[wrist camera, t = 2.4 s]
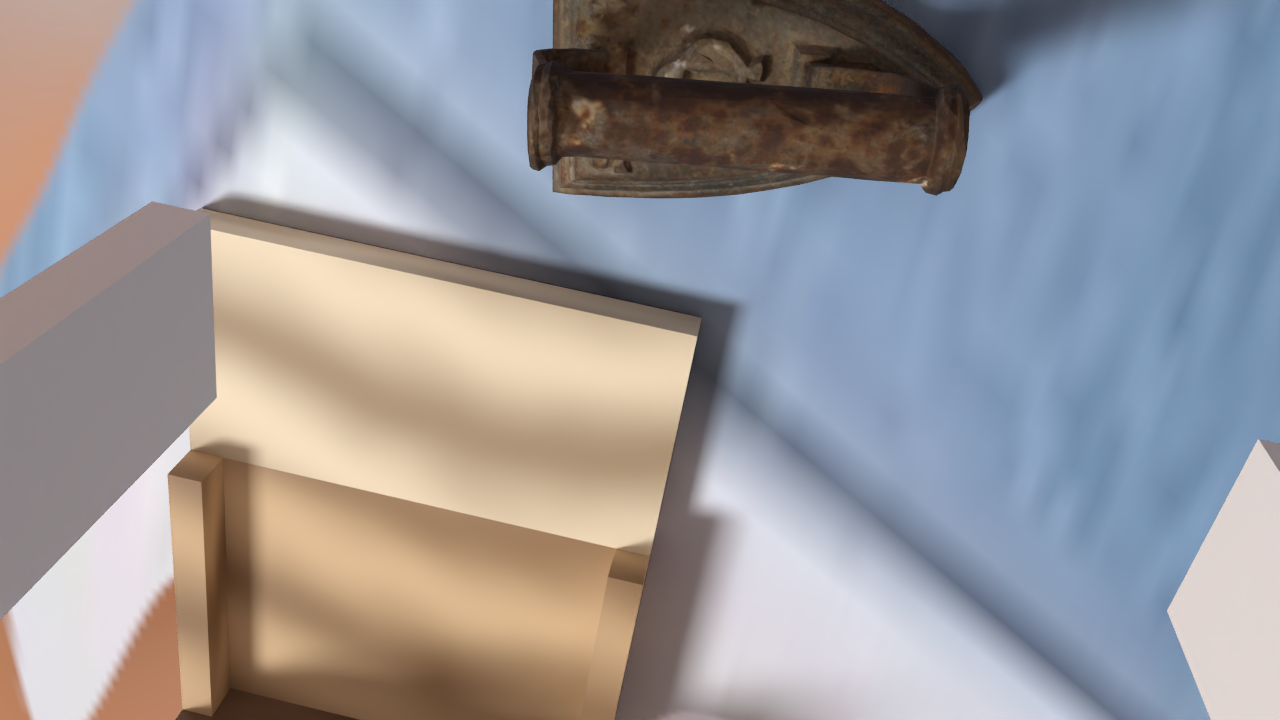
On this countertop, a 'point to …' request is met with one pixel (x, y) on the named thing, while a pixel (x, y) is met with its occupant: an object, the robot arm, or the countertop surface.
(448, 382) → the cradle
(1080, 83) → the countertop surface
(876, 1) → the clothes iron
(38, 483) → the robot arm
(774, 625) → the countertop surface
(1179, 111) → the countertop surface
